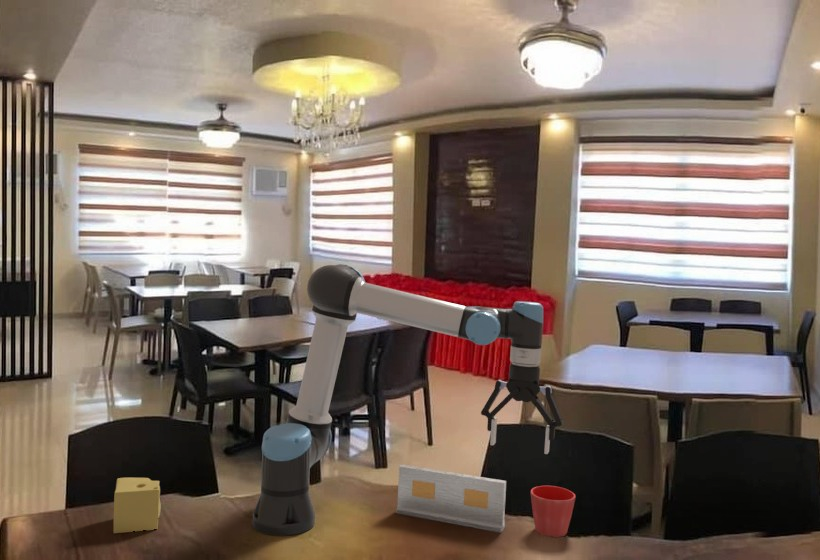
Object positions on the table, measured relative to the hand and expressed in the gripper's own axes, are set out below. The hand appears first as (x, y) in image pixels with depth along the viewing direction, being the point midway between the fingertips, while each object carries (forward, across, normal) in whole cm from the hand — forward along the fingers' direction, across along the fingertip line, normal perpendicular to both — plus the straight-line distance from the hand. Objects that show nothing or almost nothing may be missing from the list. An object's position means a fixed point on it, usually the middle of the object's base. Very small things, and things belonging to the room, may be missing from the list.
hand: (519, 448), depth 169 cm
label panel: (+20, -16, -3) cm, 26 cm away
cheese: (+22, -83, -40) cm, 95 cm away
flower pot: (+20, +9, +2) cm, 22 cm away
